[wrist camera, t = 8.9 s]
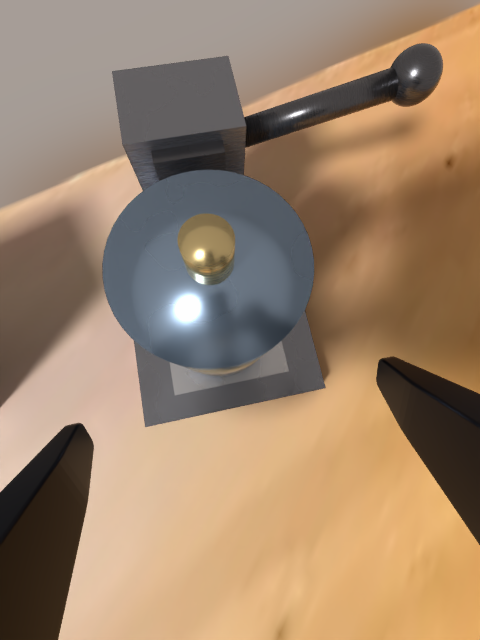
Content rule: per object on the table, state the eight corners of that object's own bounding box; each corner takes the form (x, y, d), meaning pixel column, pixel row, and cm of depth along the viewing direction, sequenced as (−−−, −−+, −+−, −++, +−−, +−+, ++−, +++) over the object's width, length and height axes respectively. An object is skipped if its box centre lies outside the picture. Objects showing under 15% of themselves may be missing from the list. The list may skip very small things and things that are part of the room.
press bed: (390, 372, 18) (597, 347, 8) (151, 424, 17) (29, 473, 7) (336, 200, 21) (438, 13, 11) (125, 236, 20) (10, 69, 10)
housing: (281, 312, 18) (368, 196, 7) (239, 394, 17) (260, 415, 6) (202, 272, 18) (163, 97, 7) (156, 349, 17) (25, 286, 6)
